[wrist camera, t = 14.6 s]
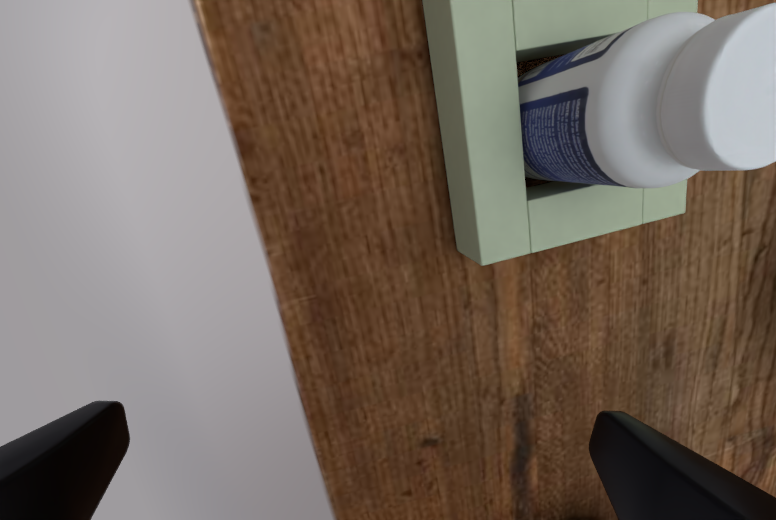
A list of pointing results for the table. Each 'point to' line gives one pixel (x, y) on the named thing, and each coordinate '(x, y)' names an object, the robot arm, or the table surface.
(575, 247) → the table surface
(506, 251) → the frame
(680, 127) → the pill bottle
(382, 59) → the table surface
